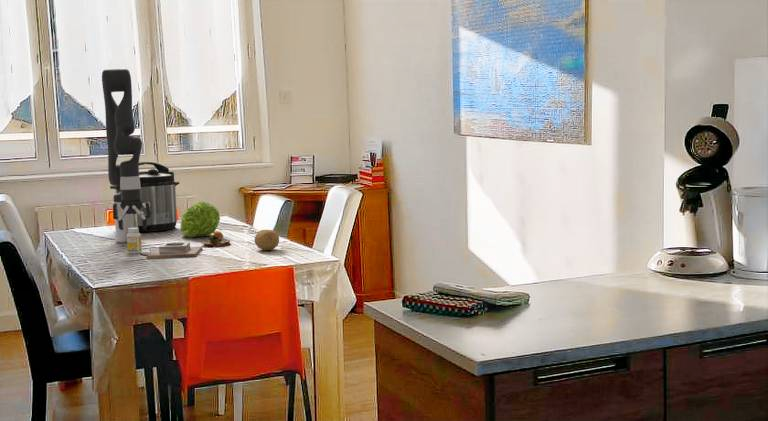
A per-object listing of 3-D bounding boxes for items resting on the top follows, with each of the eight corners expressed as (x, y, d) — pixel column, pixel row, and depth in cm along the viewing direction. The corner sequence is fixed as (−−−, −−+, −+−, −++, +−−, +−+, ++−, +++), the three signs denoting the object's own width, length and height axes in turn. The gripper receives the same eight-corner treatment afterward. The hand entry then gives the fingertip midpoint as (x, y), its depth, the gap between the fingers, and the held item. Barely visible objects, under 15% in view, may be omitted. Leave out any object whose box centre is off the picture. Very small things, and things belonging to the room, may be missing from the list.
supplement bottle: (132, 254, 349) (131, 229, 348) (124, 252, 353) (123, 228, 352) (144, 252, 353) (143, 227, 352) (136, 251, 357) (135, 226, 356)
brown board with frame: (155, 251, 354) (155, 241, 354) (202, 249, 355) (201, 240, 355) (146, 258, 337) (146, 248, 336) (195, 256, 338) (194, 247, 337)
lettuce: (174, 243, 401) (209, 243, 408) (187, 232, 379) (224, 232, 386) (173, 210, 404) (208, 211, 411) (186, 197, 382) (223, 198, 389)
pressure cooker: (182, 224, 438) (179, 159, 435) (179, 232, 410) (175, 162, 407) (118, 227, 433) (114, 161, 430) (110, 235, 406) (106, 165, 402)
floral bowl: (216, 242, 375) (215, 224, 374) (236, 244, 368) (235, 226, 367) (194, 246, 365) (193, 228, 364) (215, 248, 358) (214, 230, 357)
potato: (274, 246, 357) (273, 226, 356) (284, 251, 344) (283, 230, 343) (250, 248, 354) (249, 228, 353) (258, 253, 341) (258, 232, 340)
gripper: (151, 186, 354) (153, 227, 356) (114, 188, 353) (116, 229, 355) (147, 188, 347) (149, 229, 348) (109, 189, 346) (112, 231, 347)
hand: (133, 229), depth 352 cm, fingers open, 8 cm apart
